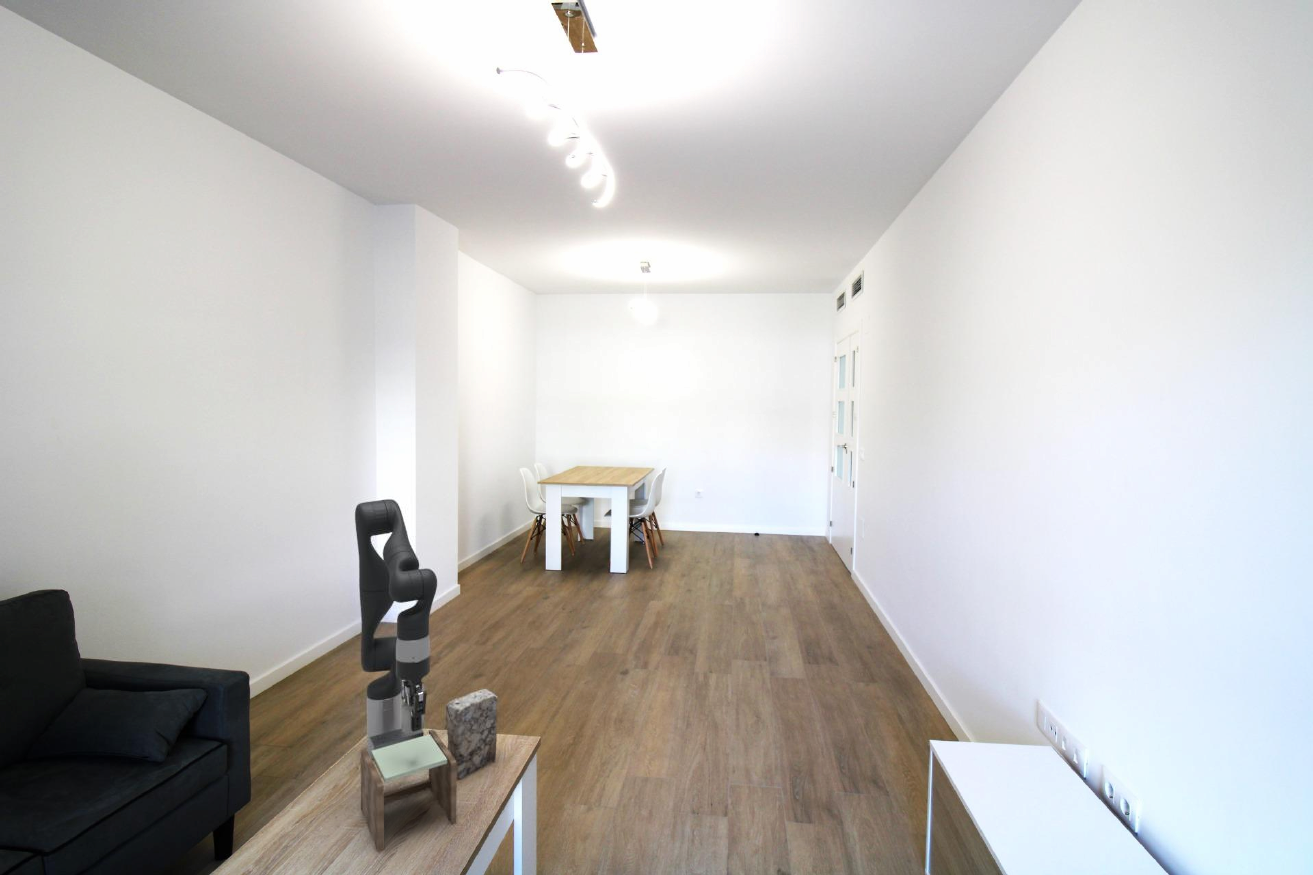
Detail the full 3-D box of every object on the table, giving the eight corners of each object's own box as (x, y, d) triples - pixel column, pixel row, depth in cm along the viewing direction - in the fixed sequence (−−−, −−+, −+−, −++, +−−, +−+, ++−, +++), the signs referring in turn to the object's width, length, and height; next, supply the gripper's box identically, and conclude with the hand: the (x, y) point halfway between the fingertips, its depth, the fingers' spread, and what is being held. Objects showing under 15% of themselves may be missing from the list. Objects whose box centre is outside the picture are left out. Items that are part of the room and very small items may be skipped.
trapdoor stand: (361, 808, 155) (360, 749, 154) (433, 784, 165) (433, 729, 165) (378, 851, 140) (377, 786, 139) (456, 822, 150) (456, 761, 150)
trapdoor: (365, 749, 159) (365, 738, 159) (422, 733, 167) (422, 722, 167) (384, 791, 142) (384, 778, 142) (447, 771, 150) (447, 759, 150)
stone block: (460, 783, 166) (460, 709, 165) (444, 774, 170) (444, 702, 169) (499, 760, 177) (499, 691, 176) (483, 752, 181) (483, 685, 180)
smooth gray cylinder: (399, 726, 149) (398, 704, 148) (420, 720, 152) (420, 698, 151) (404, 735, 145) (404, 712, 144) (426, 729, 147) (426, 706, 147)
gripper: (388, 647, 151) (388, 716, 152) (404, 668, 139) (404, 743, 140) (420, 641, 155) (420, 708, 156) (438, 661, 144) (438, 733, 144)
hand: (413, 724), depth 148 cm, fingers closed on smooth gray cylinder, 5 cm apart
